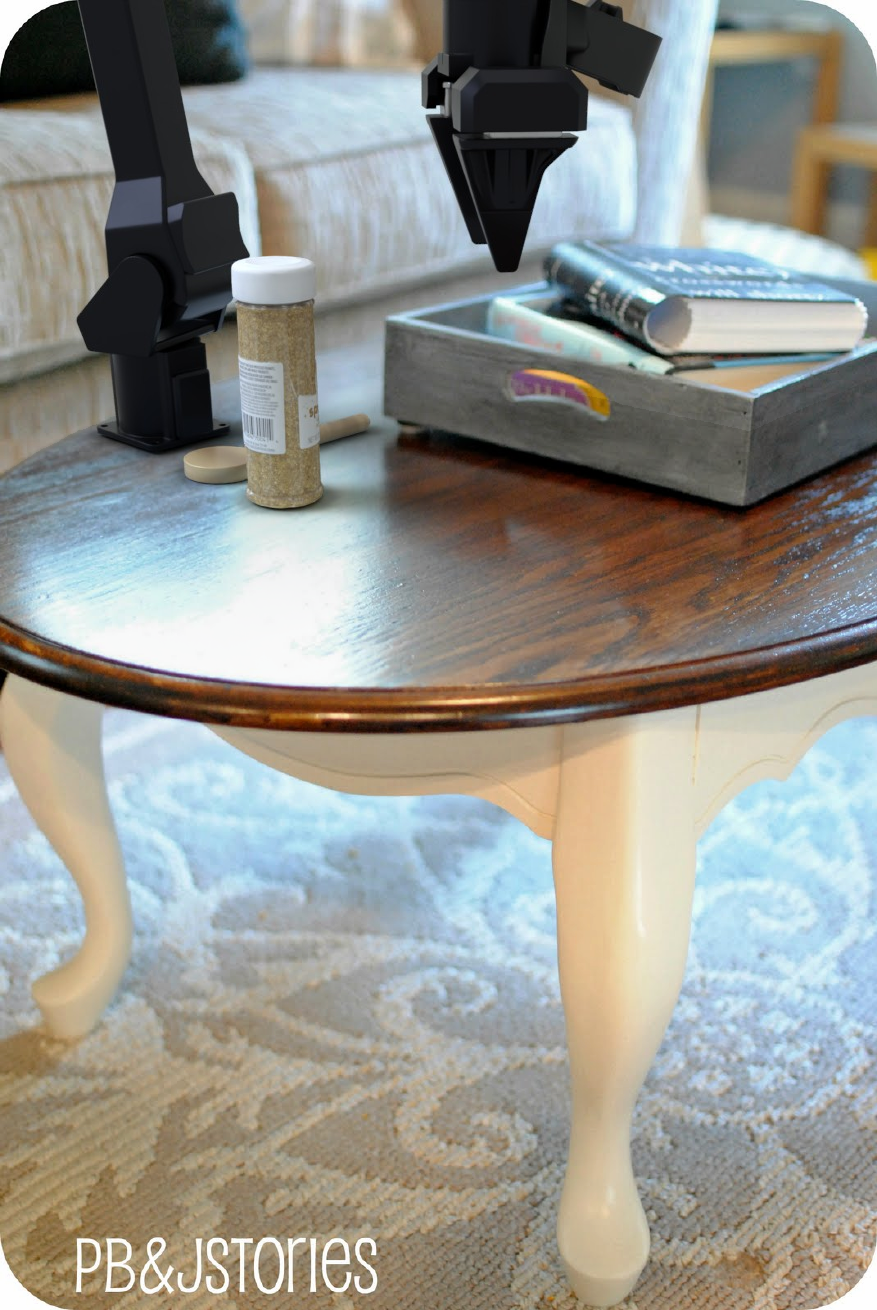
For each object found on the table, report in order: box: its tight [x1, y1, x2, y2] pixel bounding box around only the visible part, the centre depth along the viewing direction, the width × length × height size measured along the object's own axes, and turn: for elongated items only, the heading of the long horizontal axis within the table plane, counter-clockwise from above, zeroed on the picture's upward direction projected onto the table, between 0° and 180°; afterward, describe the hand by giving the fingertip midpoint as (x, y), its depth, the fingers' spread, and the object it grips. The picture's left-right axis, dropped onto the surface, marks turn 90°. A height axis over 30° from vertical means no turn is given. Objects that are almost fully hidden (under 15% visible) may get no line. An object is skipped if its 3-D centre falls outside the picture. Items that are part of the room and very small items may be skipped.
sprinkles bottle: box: [231, 255, 324, 509], centre depth 76 cm, size 5×5×14 cm
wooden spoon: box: [183, 413, 371, 485], centre depth 87 cm, size 15×4×1 cm, turn 137°
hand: (493, 257), depth 77 cm, fingers open, 9 cm apart
